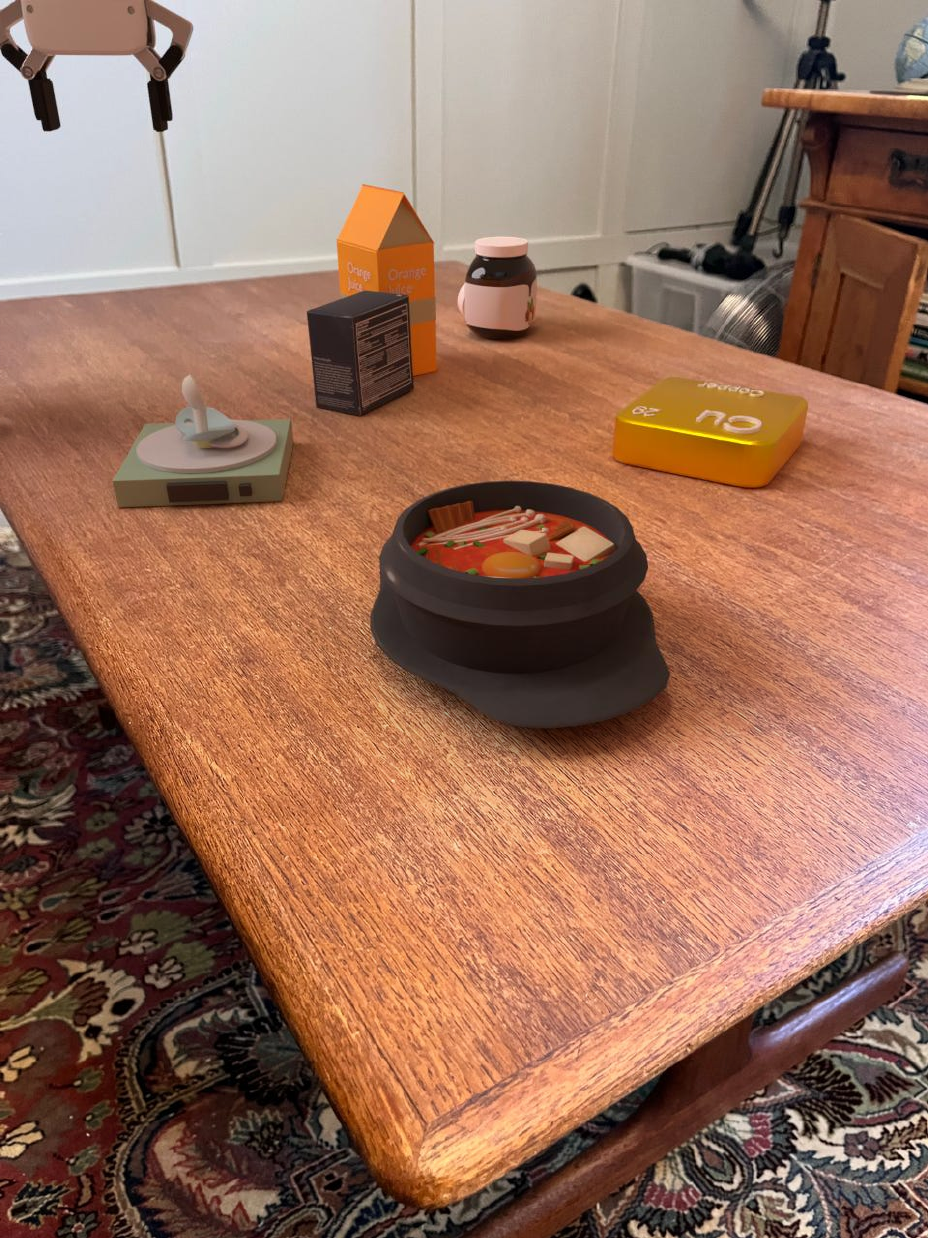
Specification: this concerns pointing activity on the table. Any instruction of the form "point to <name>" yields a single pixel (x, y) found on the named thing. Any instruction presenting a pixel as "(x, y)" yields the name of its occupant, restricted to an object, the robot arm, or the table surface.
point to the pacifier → (205, 421)
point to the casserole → (521, 603)
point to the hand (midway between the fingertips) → (106, 130)
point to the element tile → (710, 431)
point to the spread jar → (499, 289)
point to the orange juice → (392, 263)
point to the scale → (205, 467)
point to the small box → (361, 351)
